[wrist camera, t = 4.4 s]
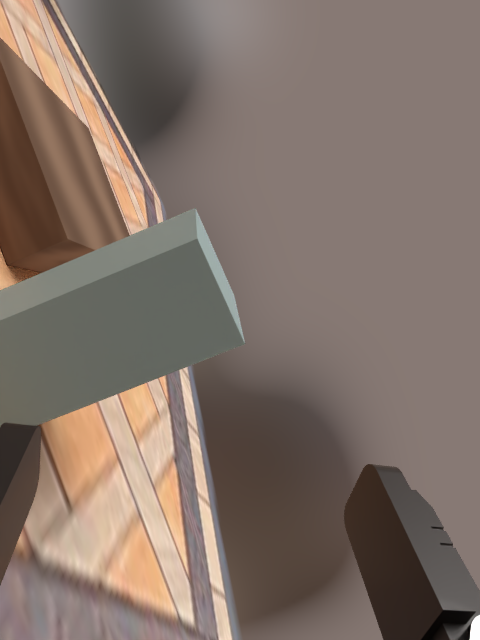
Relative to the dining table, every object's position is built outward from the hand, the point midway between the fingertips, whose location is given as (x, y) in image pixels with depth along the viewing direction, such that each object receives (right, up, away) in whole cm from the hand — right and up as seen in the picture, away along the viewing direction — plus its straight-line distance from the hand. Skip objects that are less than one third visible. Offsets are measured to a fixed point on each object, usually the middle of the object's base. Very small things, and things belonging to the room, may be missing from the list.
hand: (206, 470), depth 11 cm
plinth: (-15, +13, +22) cm, 30 cm away
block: (-11, +1, +10) cm, 15 cm away
